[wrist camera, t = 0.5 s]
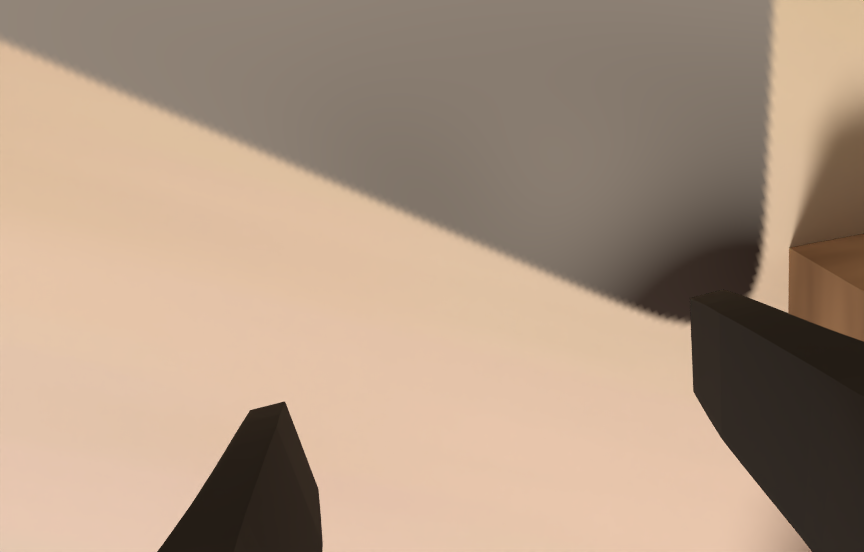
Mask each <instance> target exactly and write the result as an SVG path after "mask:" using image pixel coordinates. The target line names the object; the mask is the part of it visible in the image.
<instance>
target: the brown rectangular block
mask: <svg viewBox="0 0 864 552" xmlns="http://www.w3.org/2000/svg"><path fill="white" fill-rule="evenodd" d="M789 314H791V315H794V316H796V317H799V318H801V319H804V320H807V321H809V322H812V323H814V324H817V325H820V326H822V327H825V328H828V329H830V330H833V331H836V332H838V333H841V334H844V335H847V336H849V337H852V338H855V339H858V340H861V341H864V234H860V235H854V236H849V237H844V238H838V239H833V240H828V241H823V242H817V243H812V244H807V245H802V246H796V247H791V248H789Z"/></svg>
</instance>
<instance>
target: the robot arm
mask: <svg viewBox="0 0 864 552" xmlns="http://www.w3.org/2000/svg"><path fill="white" fill-rule="evenodd" d="M690 316H691V340H692V365H693V390H694V393H695V395H696V397H697V398H698V400H699V402H700V404H701V405H702V407H703V409H704V411H705V412H706V414H707V416H708V417H709V419H710V421H711V422H712V424H713V425H714V427H715V429H716V430H717V432H718V433H719V435H720V437H721V438H722V440H723V441H724V442H725V443H726V445H727V446H728V447H729V449H730V450H731V451H732V452H733V454H734V455H735V456H736V457H737V459H738V460H739V461H740V462H741V464H742V465H743V466H744V467H745V469H746V470H747V471H748V472H749V474H750V475H751V476H752V477H753V479H754V480H755V481H756V482H757V483H758V485H759V486H760V487H761V488H762V490H763V491H764V492H765V493H766V495H767V496H768V497H769V498H770V499H771V501H772V502H773V503H774V504H775V506H776V507H777V508H778V509H779V511H780V512H781V513H782V514H783V515H784V517H785V518H786V519H787V520H788V522H789V523H790V524H791V525H792V527H793V528H794V529H795V530H796V531H797V533H798V534H799V535H800V536H801V538H802V539H803V540H804V541H805V543H806V544H807V545H808V547H809V548H810V549H811V551H812V552H864V341H861V340H858V339H855V338H852V337H849V336H847V335H844V334H841V333H838V332H836V331H833V330H830V329H828V328H825V327H822V326H820V325H817V324H814V323H812V322H809V321H807V320H804V319H801V318H799V317H796V316H794V315H791V314H789V313H786V312H784V311H781V310H778V309H776V308H773V307H771V306H768V305H766V304H763V303H761V302H758V301H755V300H753V299H750V298H747V297H745V296H742V295H739V294H736V293H733V292H730V291H727V290H719V291H715V292H711V293H708V294H704V295H700V296H696V297H692V298H690ZM322 545H323V543H322V528H321V514H320V503H319V491H318V487H317V484H316V482H315V479H314V477H313V474H312V471H311V469H310V466H309V463H308V461H307V458H306V456H305V453H304V450H303V448H302V445H301V442H300V440H299V437H298V434H297V432H296V429H295V427H294V424H293V421H292V419H291V416H290V413H289V411H288V408H287V406H286V403H285V402H281V403H277V404H273V405H269V406H265V407H261V408H257V409H254V410H250V411H249V413H248V415H247V416H246V418H245V419H244V421H243V422H242V424H241V426H240V427H239V429H238V430H237V432H236V434H235V435H234V437H233V439H232V440H231V442H230V444H229V445H228V447H227V449H226V450H225V452H224V454H223V455H222V457H221V459H220V460H219V462H218V463H217V465H216V467H215V468H214V470H213V472H212V473H211V475H210V476H209V478H208V479H207V481H206V482H205V484H204V486H203V487H202V489H201V490H200V492H199V493H198V495H197V496H196V498H195V500H194V501H193V503H192V504H191V506H190V507H189V508H188V510H187V511H186V513H185V514H184V515H183V517H182V518H181V520H180V521H179V523H178V524H177V525H176V527H175V528H174V530H173V531H172V532H171V534H170V535H169V537H168V538H167V539H166V541H165V542H164V544H163V545H162V546H161V548H160V549H159V550H158V551H157V552H322Z"/></svg>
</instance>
